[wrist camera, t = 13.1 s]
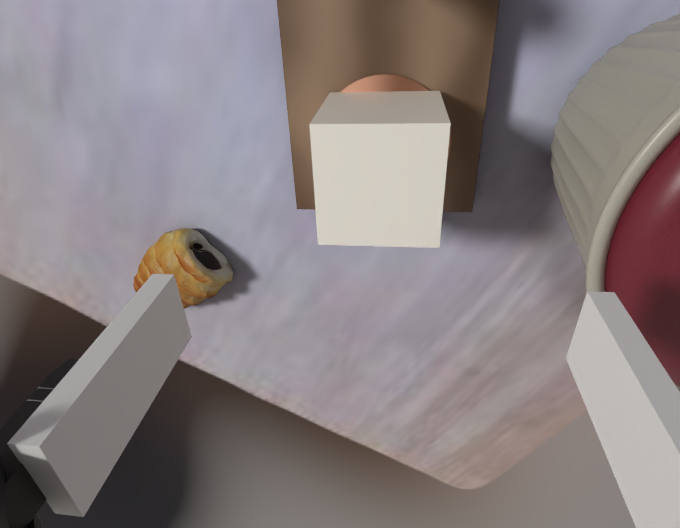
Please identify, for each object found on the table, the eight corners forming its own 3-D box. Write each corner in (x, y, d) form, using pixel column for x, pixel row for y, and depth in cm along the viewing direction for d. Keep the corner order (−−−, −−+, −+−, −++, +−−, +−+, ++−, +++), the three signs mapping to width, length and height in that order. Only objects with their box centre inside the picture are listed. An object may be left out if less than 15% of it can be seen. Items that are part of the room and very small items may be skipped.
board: (514, -173, 23) (577, -259, 15) (468, 200, 34) (490, 271, 26) (270, -153, 25) (203, -221, 17) (302, 198, 36) (271, 264, 28)
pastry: (177, 313, 45) (159, 339, 41) (124, 265, 42) (100, 288, 39) (242, 268, 41) (228, 293, 37) (188, 212, 38) (167, 233, 35)
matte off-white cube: (329, 92, 29) (309, 124, 23) (439, 90, 28) (450, 123, 22) (334, 192, 33) (318, 244, 26) (431, 193, 32) (439, 247, 26)
